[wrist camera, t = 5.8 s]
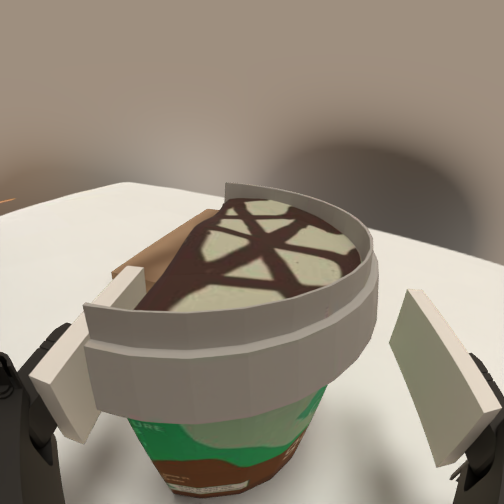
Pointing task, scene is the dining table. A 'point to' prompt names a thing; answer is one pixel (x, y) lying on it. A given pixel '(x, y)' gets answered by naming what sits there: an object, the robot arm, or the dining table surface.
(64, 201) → the dining table surface
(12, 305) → the dining table surface
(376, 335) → the dining table surface
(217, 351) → the food container
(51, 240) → the dining table surface
